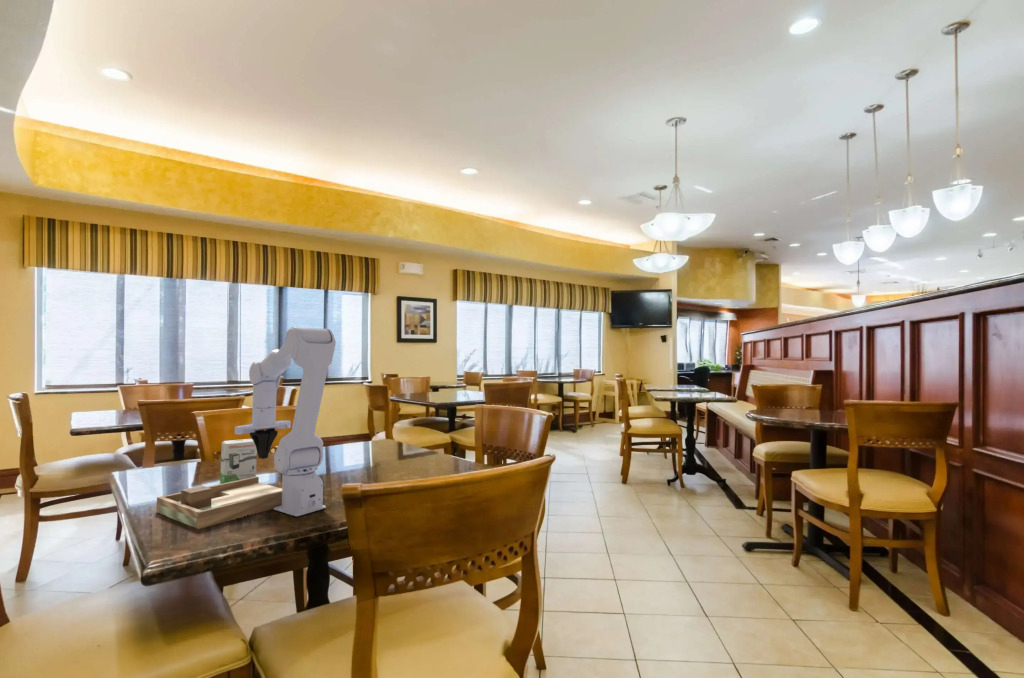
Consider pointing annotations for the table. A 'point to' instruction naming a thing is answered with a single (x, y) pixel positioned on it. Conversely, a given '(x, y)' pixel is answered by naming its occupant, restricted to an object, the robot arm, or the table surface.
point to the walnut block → (197, 497)
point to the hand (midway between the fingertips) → (263, 458)
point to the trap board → (223, 503)
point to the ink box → (238, 460)
